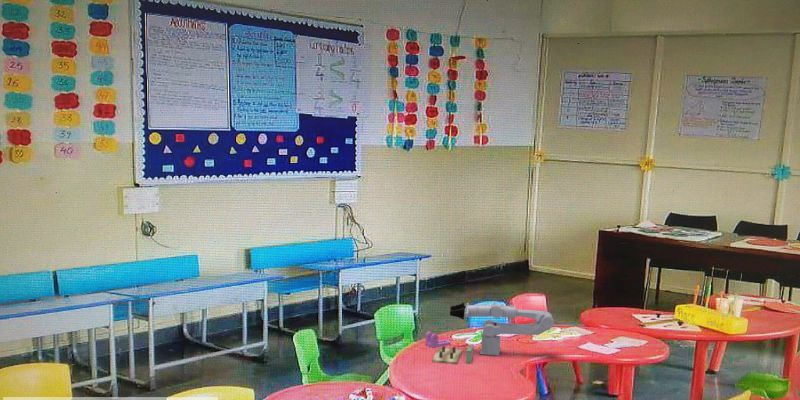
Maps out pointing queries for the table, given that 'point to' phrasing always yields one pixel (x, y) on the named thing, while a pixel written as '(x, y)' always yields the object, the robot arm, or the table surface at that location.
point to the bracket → (435, 340)
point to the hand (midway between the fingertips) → (450, 310)
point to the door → (469, 353)
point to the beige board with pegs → (447, 355)
